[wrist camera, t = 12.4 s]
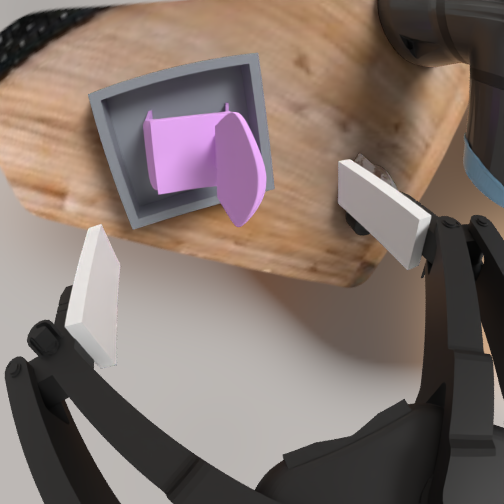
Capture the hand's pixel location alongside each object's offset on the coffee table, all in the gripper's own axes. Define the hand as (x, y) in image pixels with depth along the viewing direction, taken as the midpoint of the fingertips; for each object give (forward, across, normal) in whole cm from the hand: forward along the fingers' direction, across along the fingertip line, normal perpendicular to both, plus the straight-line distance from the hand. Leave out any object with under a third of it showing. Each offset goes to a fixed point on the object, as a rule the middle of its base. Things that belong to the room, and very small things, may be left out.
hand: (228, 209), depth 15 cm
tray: (+19, +1, 0) cm, 19 cm away
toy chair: (+18, 0, 0) cm, 18 cm away
